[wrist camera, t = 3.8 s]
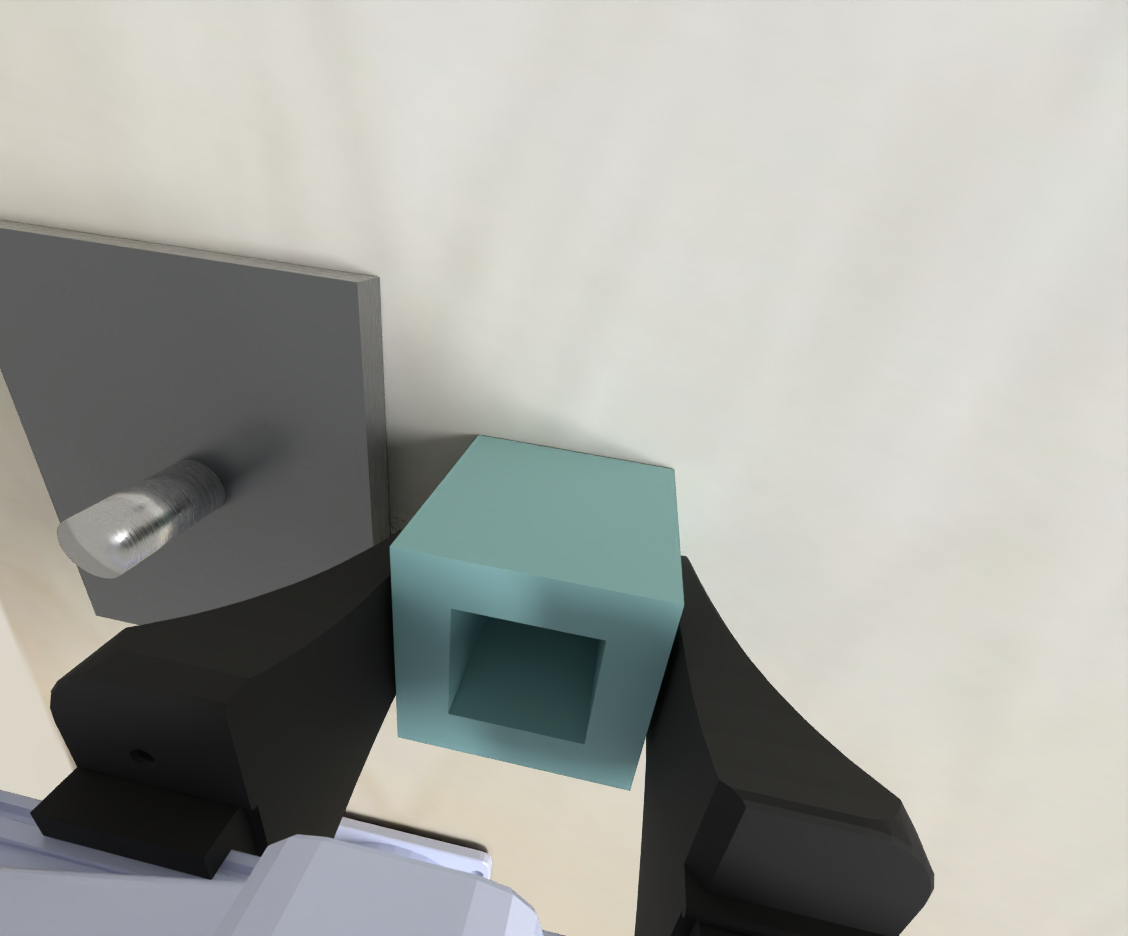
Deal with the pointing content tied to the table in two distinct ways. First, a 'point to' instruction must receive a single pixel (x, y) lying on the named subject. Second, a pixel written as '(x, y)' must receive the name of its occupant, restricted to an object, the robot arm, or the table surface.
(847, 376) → the table surface
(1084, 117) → the table surface
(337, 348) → the pin plate
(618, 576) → the square hole block
